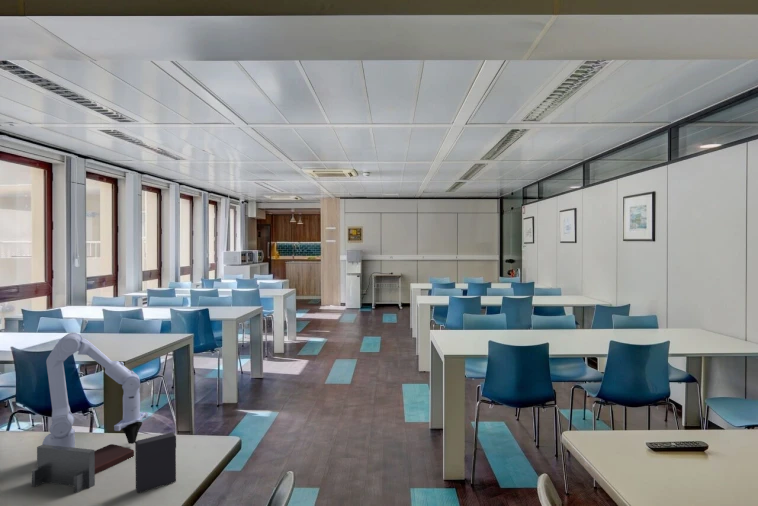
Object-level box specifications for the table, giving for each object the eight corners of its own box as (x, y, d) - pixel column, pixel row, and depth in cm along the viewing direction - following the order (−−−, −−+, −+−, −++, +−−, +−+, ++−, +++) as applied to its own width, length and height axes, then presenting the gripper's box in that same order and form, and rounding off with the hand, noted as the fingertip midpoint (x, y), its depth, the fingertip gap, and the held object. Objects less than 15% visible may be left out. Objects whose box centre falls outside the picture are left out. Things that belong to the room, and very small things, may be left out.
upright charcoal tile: (173, 477, 147) (172, 431, 147) (176, 482, 143) (176, 435, 143) (135, 488, 140) (134, 440, 140) (137, 494, 136) (137, 444, 136)
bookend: (28, 486, 142) (27, 451, 142) (43, 478, 147) (42, 444, 147) (81, 493, 138) (80, 456, 138) (94, 484, 142) (94, 449, 142)
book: (134, 457, 162) (134, 448, 162) (80, 483, 145) (80, 472, 145) (110, 452, 167) (110, 443, 167) (55, 476, 149) (55, 466, 150)
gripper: (125, 414, 163) (126, 452, 163) (154, 401, 177) (154, 436, 177) (109, 412, 164) (109, 450, 164) (138, 400, 178) (139, 434, 178)
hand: (131, 442), depth 171 cm, fingers closed
